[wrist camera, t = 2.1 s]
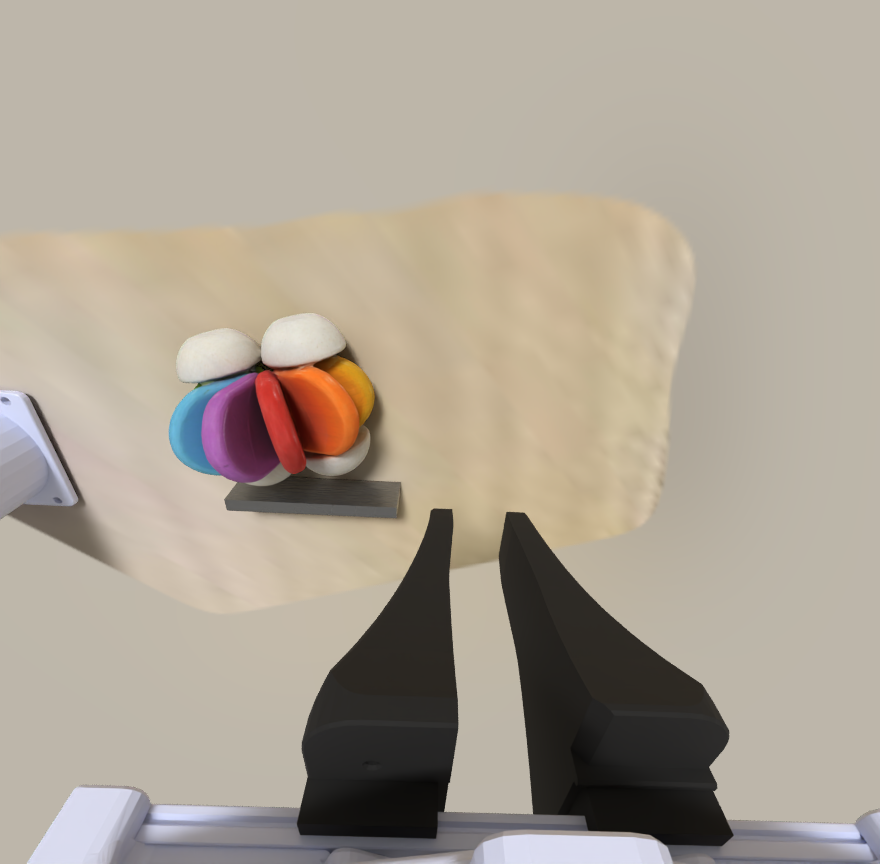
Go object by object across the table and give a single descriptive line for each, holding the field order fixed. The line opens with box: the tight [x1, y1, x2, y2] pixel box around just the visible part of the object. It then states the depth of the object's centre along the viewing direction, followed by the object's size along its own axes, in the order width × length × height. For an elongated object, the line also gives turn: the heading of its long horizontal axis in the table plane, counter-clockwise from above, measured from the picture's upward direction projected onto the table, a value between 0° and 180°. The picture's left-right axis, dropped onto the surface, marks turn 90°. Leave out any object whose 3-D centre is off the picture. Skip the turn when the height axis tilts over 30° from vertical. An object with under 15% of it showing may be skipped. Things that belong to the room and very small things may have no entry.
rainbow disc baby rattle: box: [169, 313, 375, 486], centre depth 19 cm, size 8×10×7 cm
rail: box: [224, 477, 401, 518], centre depth 24 cm, size 10×1×2 cm, turn 87°
